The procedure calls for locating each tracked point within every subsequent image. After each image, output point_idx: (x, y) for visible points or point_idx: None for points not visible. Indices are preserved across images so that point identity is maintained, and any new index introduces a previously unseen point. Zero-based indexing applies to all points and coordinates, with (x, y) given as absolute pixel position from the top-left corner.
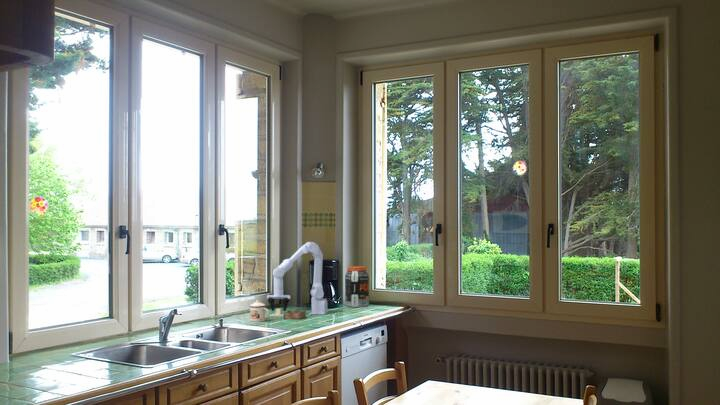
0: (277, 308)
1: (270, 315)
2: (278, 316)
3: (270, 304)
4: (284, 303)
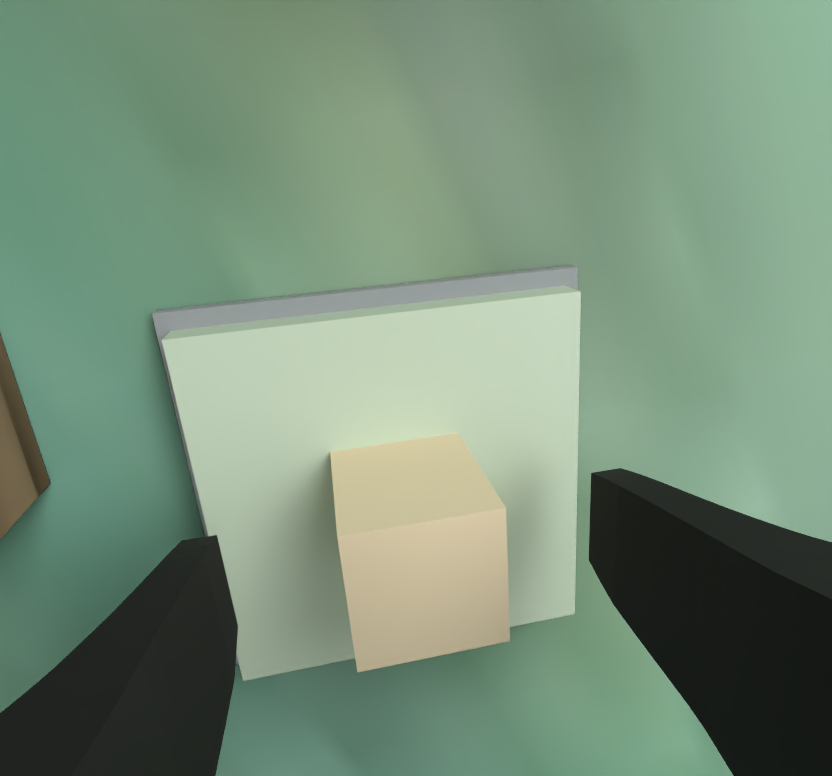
0: (509, 634)
1: (553, 291)
2: (311, 315)
3: (819, 549)
4: (2, 756)
